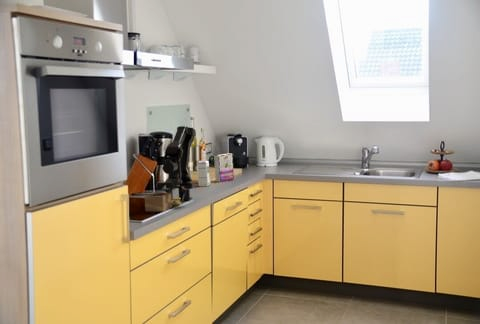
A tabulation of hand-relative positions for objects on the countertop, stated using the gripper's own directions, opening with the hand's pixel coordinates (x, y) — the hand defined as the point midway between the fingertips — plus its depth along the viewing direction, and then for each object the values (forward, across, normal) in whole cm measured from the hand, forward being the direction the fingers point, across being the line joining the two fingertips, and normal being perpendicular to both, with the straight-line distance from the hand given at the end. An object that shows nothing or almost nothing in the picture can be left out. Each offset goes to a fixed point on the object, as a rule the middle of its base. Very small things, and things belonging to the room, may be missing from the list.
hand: (176, 202), depth 293 cm
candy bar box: (+1, +1, +76) cm, 76 cm away
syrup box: (+1, -6, +58) cm, 58 cm away
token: (+1, 0, 0) cm, 1 cm away
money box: (+1, -4, -12) cm, 12 cm away
